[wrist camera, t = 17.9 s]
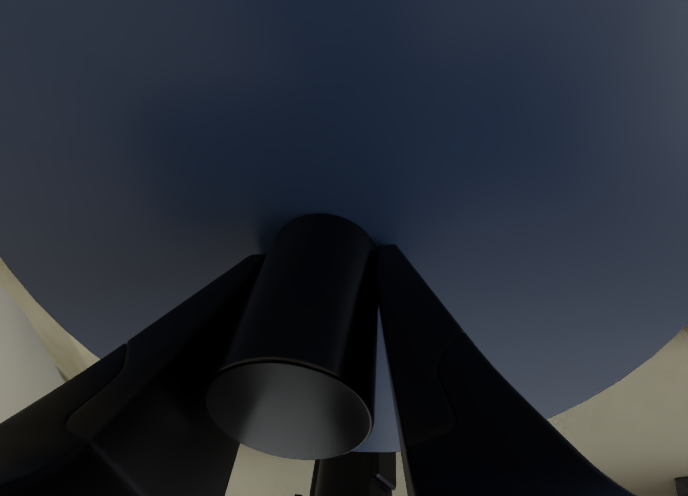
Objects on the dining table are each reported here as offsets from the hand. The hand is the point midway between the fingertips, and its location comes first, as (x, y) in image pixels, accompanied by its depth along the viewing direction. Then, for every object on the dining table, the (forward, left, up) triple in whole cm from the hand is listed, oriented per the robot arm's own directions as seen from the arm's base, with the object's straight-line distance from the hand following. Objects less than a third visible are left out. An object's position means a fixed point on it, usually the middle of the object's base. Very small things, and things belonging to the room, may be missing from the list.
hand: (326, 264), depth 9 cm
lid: (0, 0, -1) cm, 1 cm away
